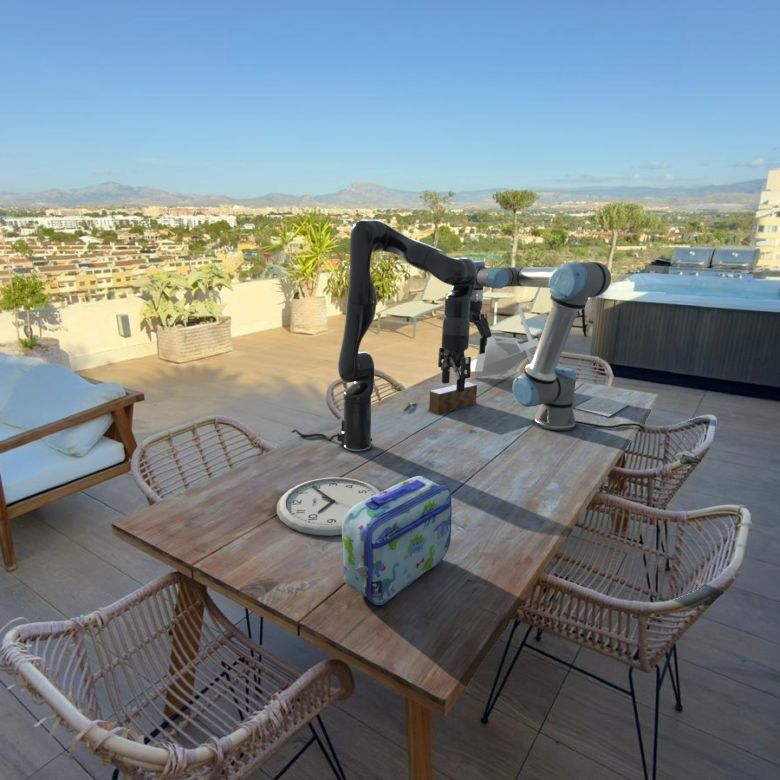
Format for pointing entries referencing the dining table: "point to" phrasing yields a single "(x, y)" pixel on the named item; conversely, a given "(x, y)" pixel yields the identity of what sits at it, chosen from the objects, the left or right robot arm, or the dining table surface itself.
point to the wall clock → (322, 504)
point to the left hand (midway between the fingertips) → (452, 387)
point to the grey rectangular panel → (601, 406)
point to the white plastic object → (503, 354)
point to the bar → (452, 398)
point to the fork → (411, 403)
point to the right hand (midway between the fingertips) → (469, 350)
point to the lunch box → (395, 537)
